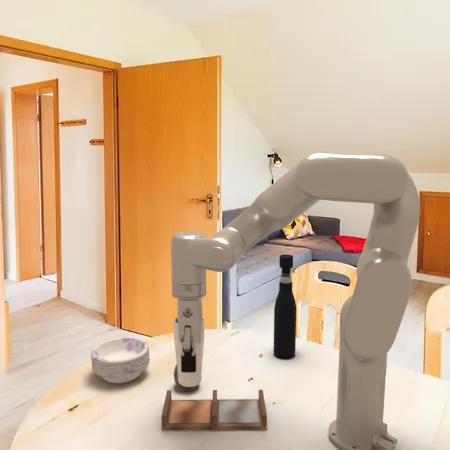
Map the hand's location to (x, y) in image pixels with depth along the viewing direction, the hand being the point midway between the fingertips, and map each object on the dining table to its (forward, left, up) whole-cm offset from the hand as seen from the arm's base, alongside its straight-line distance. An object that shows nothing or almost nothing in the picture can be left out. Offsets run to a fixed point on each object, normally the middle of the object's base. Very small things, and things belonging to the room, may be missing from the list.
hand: (189, 363), depth 110 cm
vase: (+12, -7, -13) cm, 19 cm away
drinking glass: (0, 0, -5) cm, 5 cm away
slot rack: (-3, -5, -13) cm, 14 cm away
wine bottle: (+11, -40, -13) cm, 43 cm away
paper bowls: (+28, +4, -13) cm, 31 cm away
